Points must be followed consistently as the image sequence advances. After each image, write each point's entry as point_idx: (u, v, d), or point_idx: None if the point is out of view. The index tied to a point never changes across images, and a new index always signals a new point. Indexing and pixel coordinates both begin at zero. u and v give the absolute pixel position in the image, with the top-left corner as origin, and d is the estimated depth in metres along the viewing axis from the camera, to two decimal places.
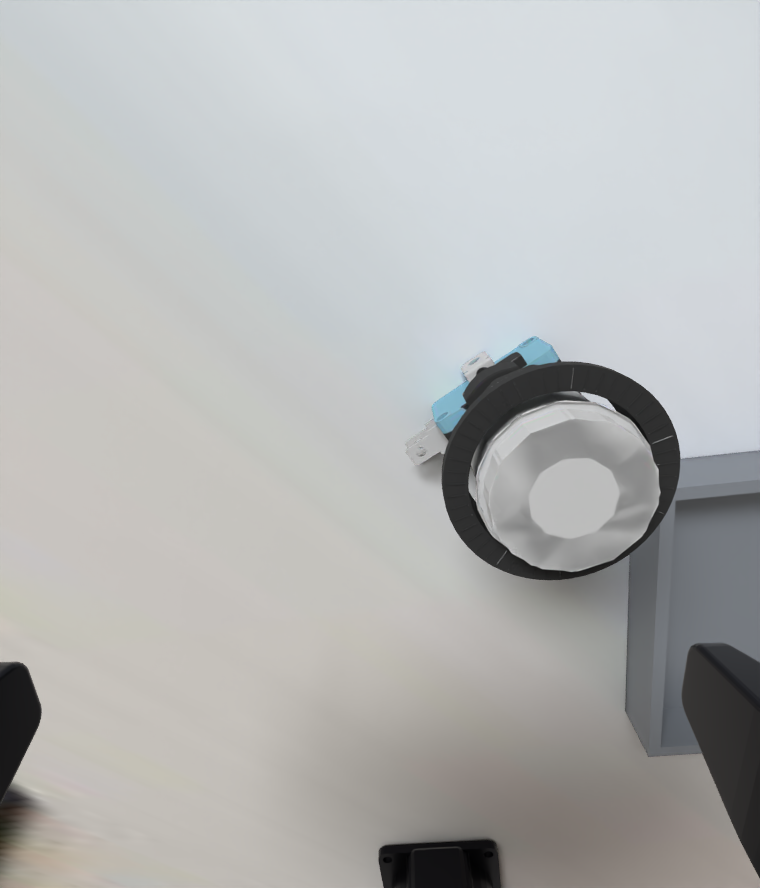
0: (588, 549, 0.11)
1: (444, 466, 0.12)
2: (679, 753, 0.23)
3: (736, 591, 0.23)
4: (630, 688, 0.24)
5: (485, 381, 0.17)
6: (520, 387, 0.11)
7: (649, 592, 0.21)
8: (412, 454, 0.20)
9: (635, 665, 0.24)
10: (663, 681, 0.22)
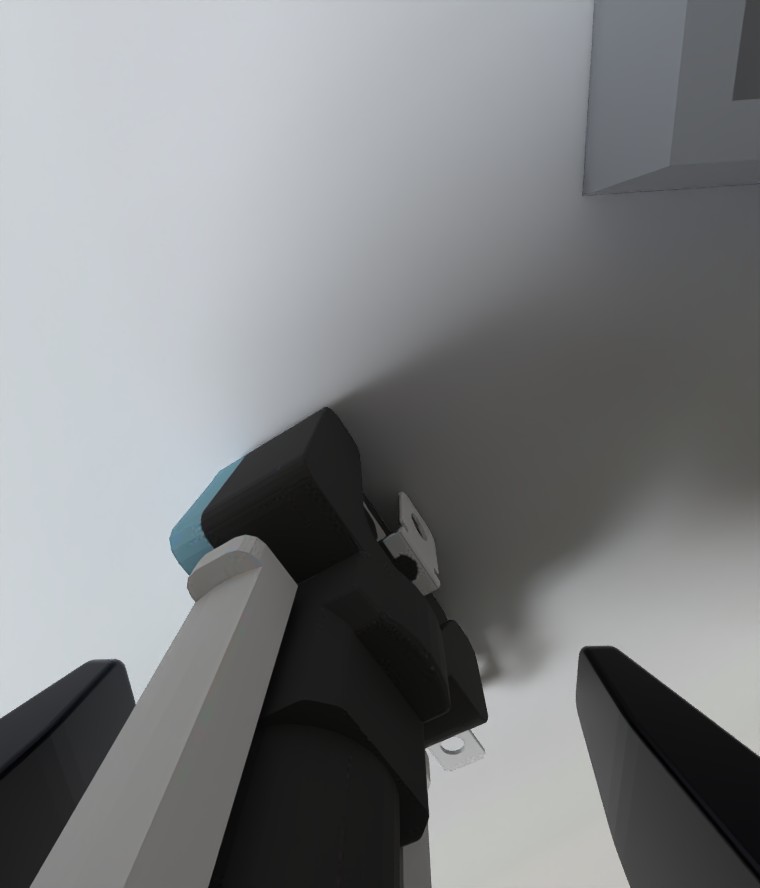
0: None
1: None
2: None
3: None
4: None
5: None
6: None
7: None
8: (457, 760, 0.09)
9: None
10: None
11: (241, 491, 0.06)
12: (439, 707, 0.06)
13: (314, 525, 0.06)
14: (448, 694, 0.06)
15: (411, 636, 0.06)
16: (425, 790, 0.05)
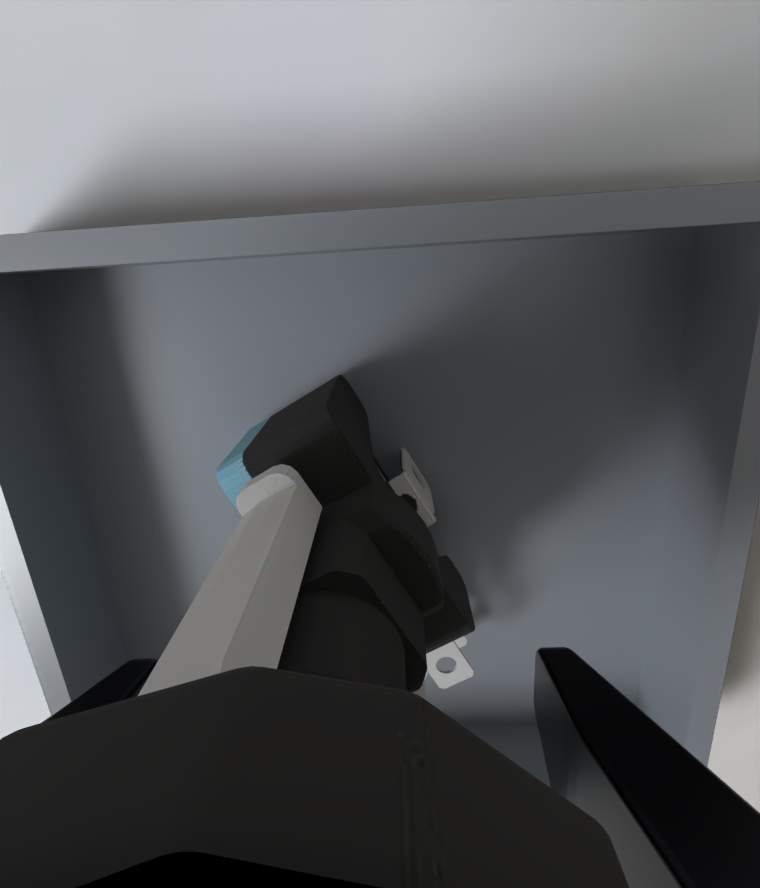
0: None
1: None
2: None
3: None
4: None
5: None
6: None
7: None
8: (450, 678, 0.10)
9: None
10: None
11: (276, 434, 0.08)
12: (435, 600, 0.07)
13: (335, 460, 0.08)
14: (442, 590, 0.07)
15: (413, 540, 0.07)
16: (424, 652, 0.07)
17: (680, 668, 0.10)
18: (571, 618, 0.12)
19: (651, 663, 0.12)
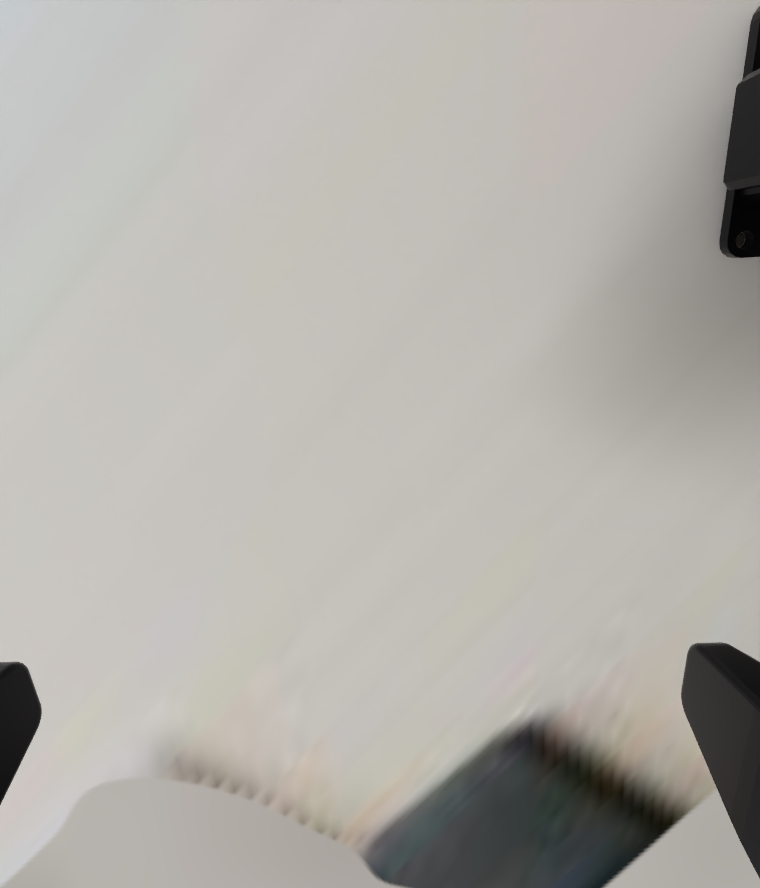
0: None
1: None
2: None
3: None
4: None
5: None
6: None
7: None
8: None
9: None
10: None
11: None
12: None
13: None
14: None
15: None
16: None
17: None
18: None
19: None
